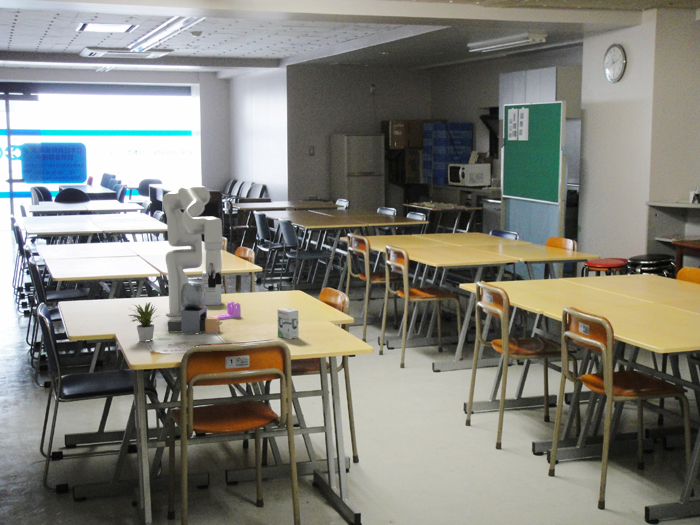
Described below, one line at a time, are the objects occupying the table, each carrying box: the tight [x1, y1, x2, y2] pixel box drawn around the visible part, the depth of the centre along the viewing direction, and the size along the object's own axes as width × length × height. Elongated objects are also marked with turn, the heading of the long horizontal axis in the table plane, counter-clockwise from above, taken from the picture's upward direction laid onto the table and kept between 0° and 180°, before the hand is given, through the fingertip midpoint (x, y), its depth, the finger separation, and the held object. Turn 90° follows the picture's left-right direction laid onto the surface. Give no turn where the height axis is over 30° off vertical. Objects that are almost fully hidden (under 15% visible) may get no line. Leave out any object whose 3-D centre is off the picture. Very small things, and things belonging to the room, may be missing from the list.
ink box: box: [277, 307, 299, 340], centre depth 327 cm, size 9×5×12 cm, turn 44°
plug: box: [167, 316, 223, 334], centre depth 341 cm, size 5×23×6 cm, turn 85°
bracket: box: [212, 301, 242, 321], centre depth 371 cm, size 13×6×7 cm, turn 132°
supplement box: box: [201, 270, 222, 306], centre depth 409 cm, size 10×9×17 cm
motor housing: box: [180, 282, 208, 335], centre depth 340 cm, size 12×8×21 cm, turn 175°
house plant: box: [128, 302, 158, 342], centre depth 324 cm, size 14×14×16 cm
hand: (215, 285), depth 338 cm, fingers open, 9 cm apart
